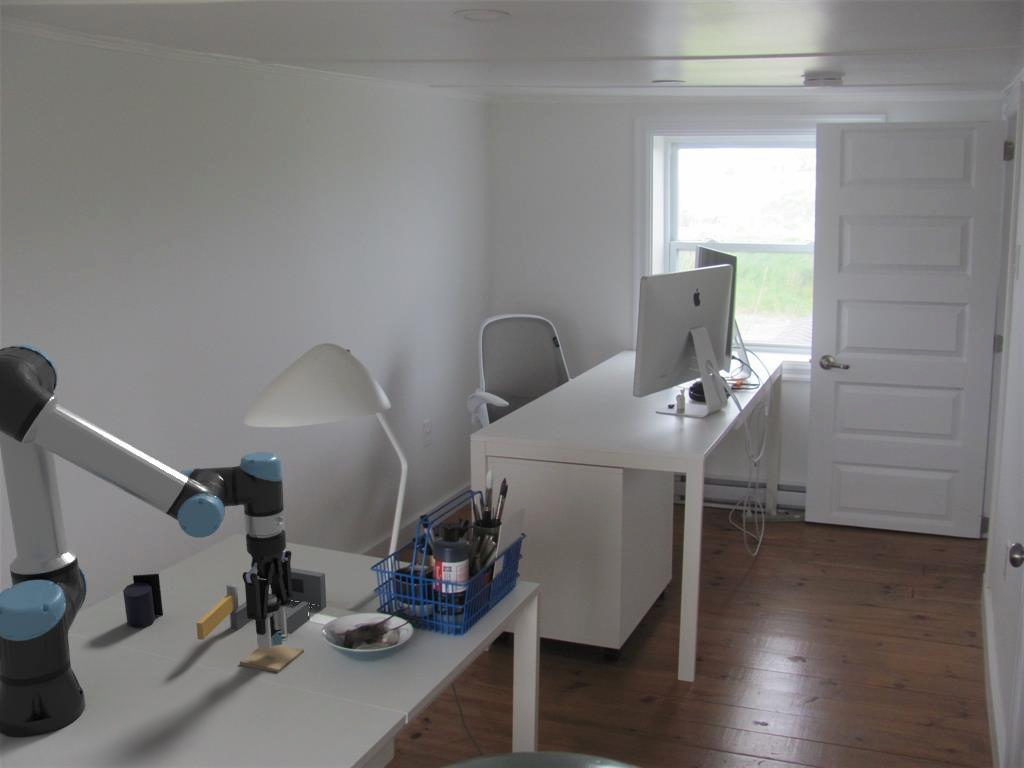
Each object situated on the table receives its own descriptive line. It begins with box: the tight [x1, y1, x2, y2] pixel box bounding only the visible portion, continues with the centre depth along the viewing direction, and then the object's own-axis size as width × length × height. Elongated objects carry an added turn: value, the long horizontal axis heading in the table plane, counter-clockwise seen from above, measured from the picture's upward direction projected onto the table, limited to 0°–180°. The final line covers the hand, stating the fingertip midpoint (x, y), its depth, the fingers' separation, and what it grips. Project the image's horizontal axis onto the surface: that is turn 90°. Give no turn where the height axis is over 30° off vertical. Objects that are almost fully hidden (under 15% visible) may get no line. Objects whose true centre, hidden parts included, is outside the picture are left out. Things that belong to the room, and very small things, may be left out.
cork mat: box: [239, 644, 305, 673], centre depth 203 cm, size 9×9×1 cm
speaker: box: [122, 573, 164, 629], centre depth 218 cm, size 8×6×10 cm
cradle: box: [229, 567, 327, 639], centre depth 221 cm, size 17×14×8 cm
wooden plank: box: [196, 583, 240, 640], centre depth 209 cm, size 16×2×5 cm, turn 170°
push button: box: [257, 593, 291, 646], centre depth 202 cm, size 7×5×10 cm
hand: (272, 641), depth 203 cm, fingers closed on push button, 5 cm apart
